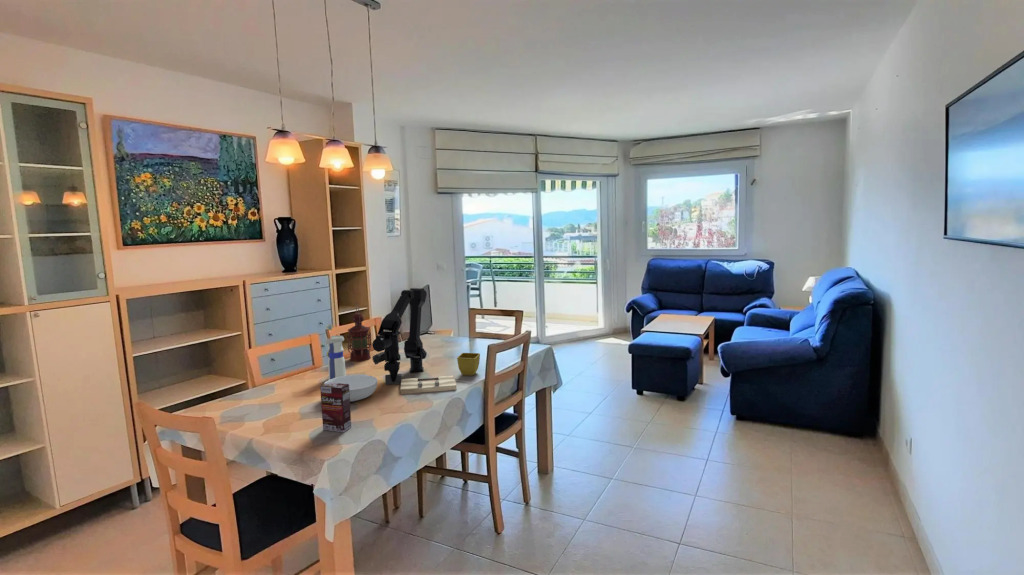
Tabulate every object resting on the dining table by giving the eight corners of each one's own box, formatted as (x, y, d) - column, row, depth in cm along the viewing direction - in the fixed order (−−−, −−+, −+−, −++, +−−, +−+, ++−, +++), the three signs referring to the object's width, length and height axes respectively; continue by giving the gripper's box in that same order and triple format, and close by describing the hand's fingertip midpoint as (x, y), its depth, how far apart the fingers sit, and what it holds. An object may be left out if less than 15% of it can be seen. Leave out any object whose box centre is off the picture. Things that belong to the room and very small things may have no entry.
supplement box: (322, 430, 177) (319, 386, 175) (330, 425, 182) (327, 381, 180) (344, 432, 175) (341, 387, 173) (352, 427, 179) (349, 383, 177)
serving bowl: (357, 409, 196) (356, 392, 195) (313, 404, 204) (311, 387, 203) (388, 392, 216) (387, 376, 215) (347, 387, 223) (346, 372, 222)
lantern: (346, 357, 272) (342, 301, 268) (369, 354, 278) (366, 299, 274) (350, 363, 261) (347, 304, 257) (374, 359, 267) (371, 302, 263)
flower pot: (475, 377, 234) (475, 358, 233) (457, 376, 236) (456, 357, 234) (480, 371, 242) (480, 353, 241) (462, 371, 244) (462, 352, 243)
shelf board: (401, 383, 227) (401, 375, 226) (454, 379, 231) (453, 371, 230) (400, 394, 213) (400, 385, 213) (456, 389, 217) (456, 381, 217)
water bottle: (323, 380, 233) (319, 326, 230) (335, 375, 241) (331, 322, 238) (338, 381, 231) (335, 327, 228) (350, 376, 239) (347, 323, 236)
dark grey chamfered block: (385, 382, 229) (385, 374, 228) (402, 381, 230) (401, 373, 230) (385, 384, 226) (385, 376, 225) (401, 383, 227) (401, 375, 227)
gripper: (374, 342, 234) (376, 375, 236) (371, 352, 215) (373, 388, 217) (399, 340, 235) (401, 374, 238) (398, 350, 217) (400, 386, 219)
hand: (393, 380), depth 228 cm, fingers closed on dark grey chamfered block, 3 cm apart
